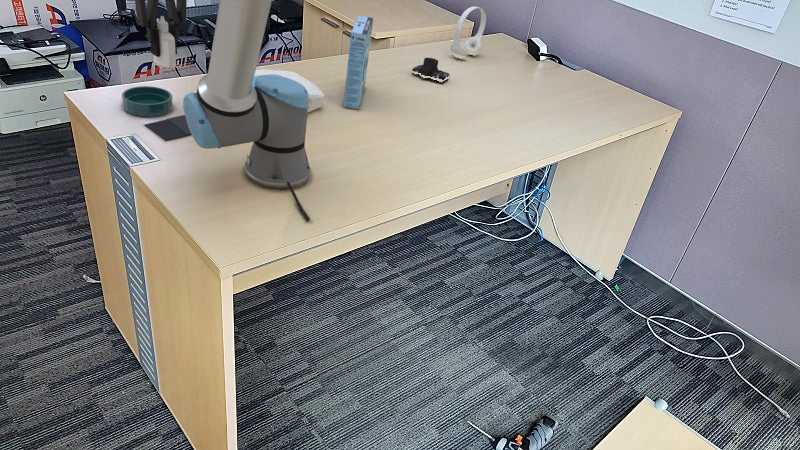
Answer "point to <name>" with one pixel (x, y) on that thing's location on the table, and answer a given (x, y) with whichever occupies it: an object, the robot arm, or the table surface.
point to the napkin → (170, 128)
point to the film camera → (430, 70)
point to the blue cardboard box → (357, 62)
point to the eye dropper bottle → (165, 47)
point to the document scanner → (313, 91)
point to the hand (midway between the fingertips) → (164, 53)
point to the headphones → (472, 42)
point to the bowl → (147, 101)
